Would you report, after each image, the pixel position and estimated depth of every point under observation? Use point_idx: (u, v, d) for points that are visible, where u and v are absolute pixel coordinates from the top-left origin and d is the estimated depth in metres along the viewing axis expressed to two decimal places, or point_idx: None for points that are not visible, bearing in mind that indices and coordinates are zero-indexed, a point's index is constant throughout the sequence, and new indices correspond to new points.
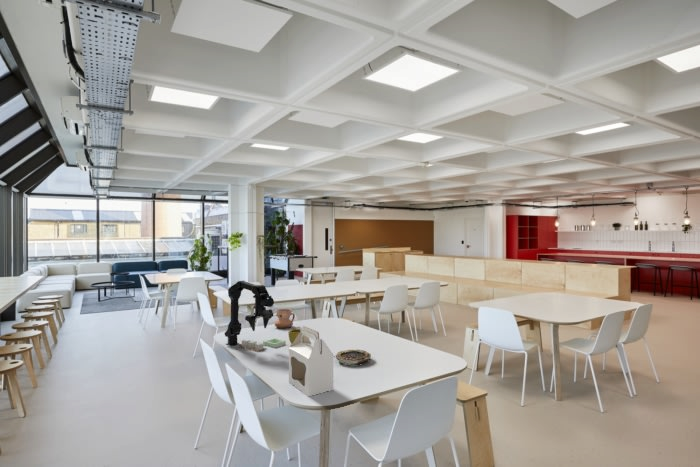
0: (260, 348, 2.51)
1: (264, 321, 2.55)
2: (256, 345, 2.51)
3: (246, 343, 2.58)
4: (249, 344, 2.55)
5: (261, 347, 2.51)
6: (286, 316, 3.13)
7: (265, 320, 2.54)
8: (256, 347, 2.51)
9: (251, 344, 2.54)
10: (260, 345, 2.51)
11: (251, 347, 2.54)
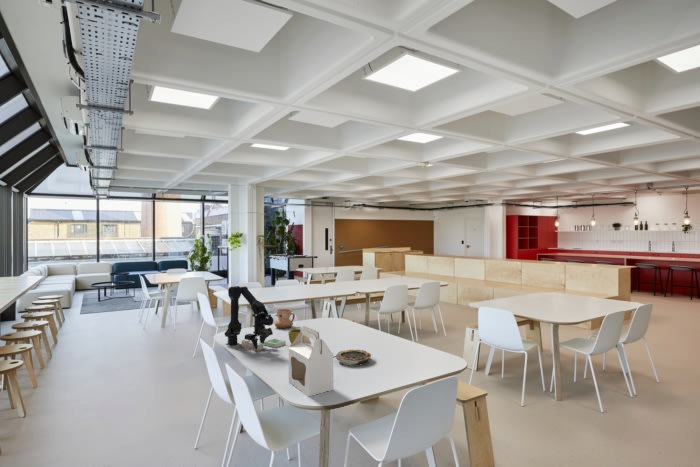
0: (260, 348, 2.51)
1: (261, 340, 2.55)
2: None
3: (246, 343, 2.58)
4: (249, 344, 2.55)
5: (261, 347, 2.51)
6: (286, 316, 3.13)
7: (262, 339, 2.54)
8: None
9: (251, 344, 2.54)
10: (260, 345, 2.51)
11: (251, 347, 2.54)
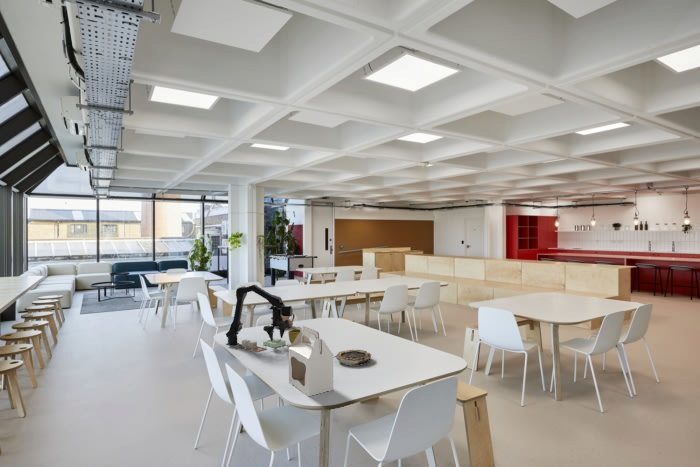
0: None
1: (280, 331, 2.67)
2: (274, 341, 2.61)
3: (246, 343, 2.58)
4: (249, 344, 2.55)
5: None
6: (286, 316, 3.13)
7: (281, 330, 2.66)
8: None
9: (251, 344, 2.54)
10: (278, 341, 2.61)
11: (251, 347, 2.54)
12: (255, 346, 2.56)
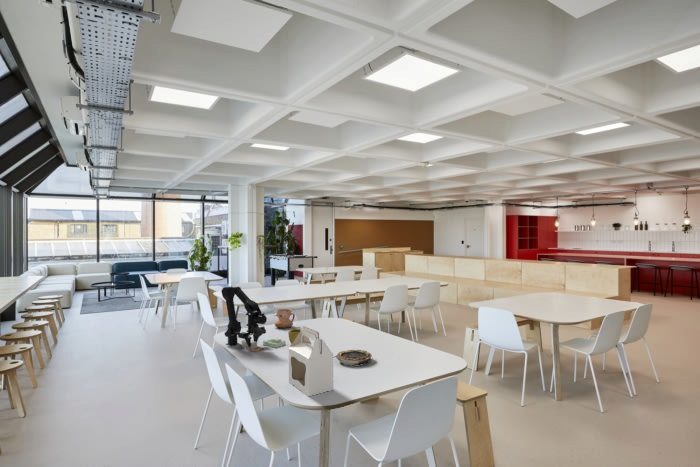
0: None
1: (254, 338, 2.59)
2: (274, 341, 2.61)
3: (246, 343, 2.58)
4: None
5: None
6: (286, 316, 3.13)
7: (255, 337, 2.58)
8: None
9: (251, 344, 2.54)
10: (278, 341, 2.61)
11: (251, 347, 2.54)
12: (255, 346, 2.56)
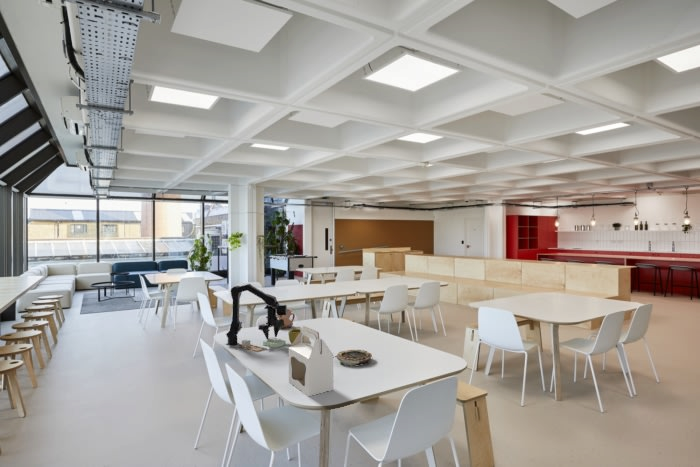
0: None
1: (275, 330, 2.69)
2: (274, 341, 2.61)
3: (246, 343, 2.58)
4: (268, 340, 2.64)
5: None
6: (286, 316, 3.13)
7: (276, 329, 2.69)
8: None
9: (270, 340, 2.63)
10: (278, 341, 2.61)
11: None
12: None
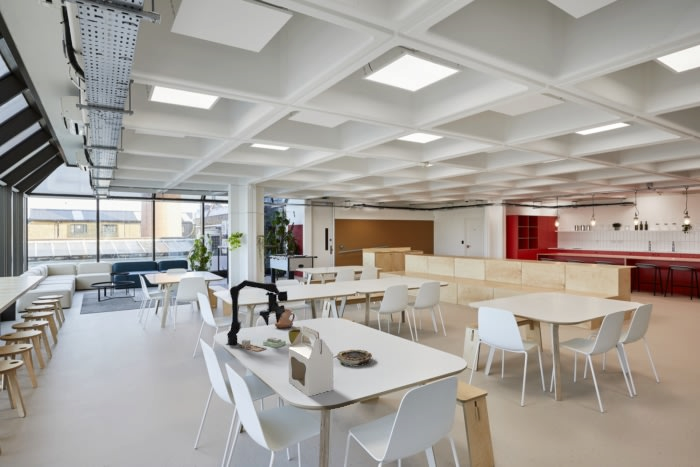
0: None
1: (276, 316, 2.75)
2: (274, 341, 2.61)
3: (246, 343, 2.58)
4: (268, 340, 2.64)
5: None
6: (286, 316, 3.13)
7: (277, 315, 2.74)
8: None
9: (270, 340, 2.63)
10: (278, 341, 2.61)
11: None
12: None
